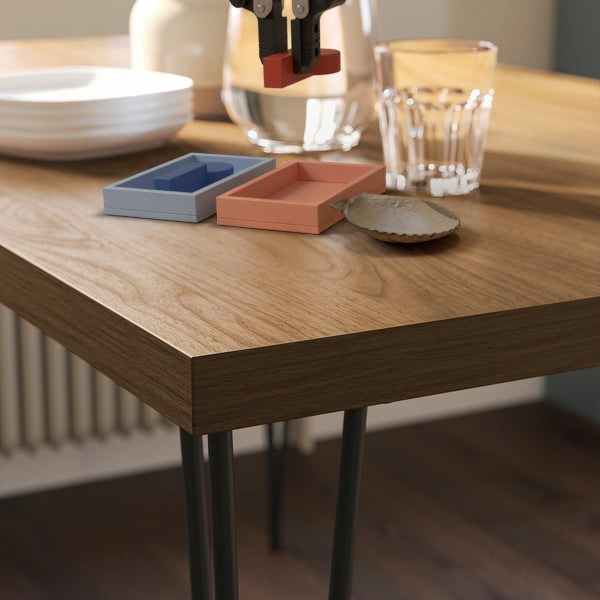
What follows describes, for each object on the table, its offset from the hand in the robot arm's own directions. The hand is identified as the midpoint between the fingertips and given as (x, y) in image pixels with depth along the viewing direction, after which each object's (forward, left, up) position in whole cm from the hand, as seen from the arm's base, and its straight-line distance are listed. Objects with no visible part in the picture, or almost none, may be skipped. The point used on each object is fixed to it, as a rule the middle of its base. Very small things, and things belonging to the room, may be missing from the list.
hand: (289, 71), depth 81 cm
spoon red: (-2, 0, -1) cm, 2 cm away
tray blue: (-2, -9, -10) cm, 14 cm away
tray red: (-2, 0, -10) cm, 10 cm away
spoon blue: (-2, -9, -10) cm, 13 cm away
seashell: (+4, +9, -10) cm, 14 cm away
